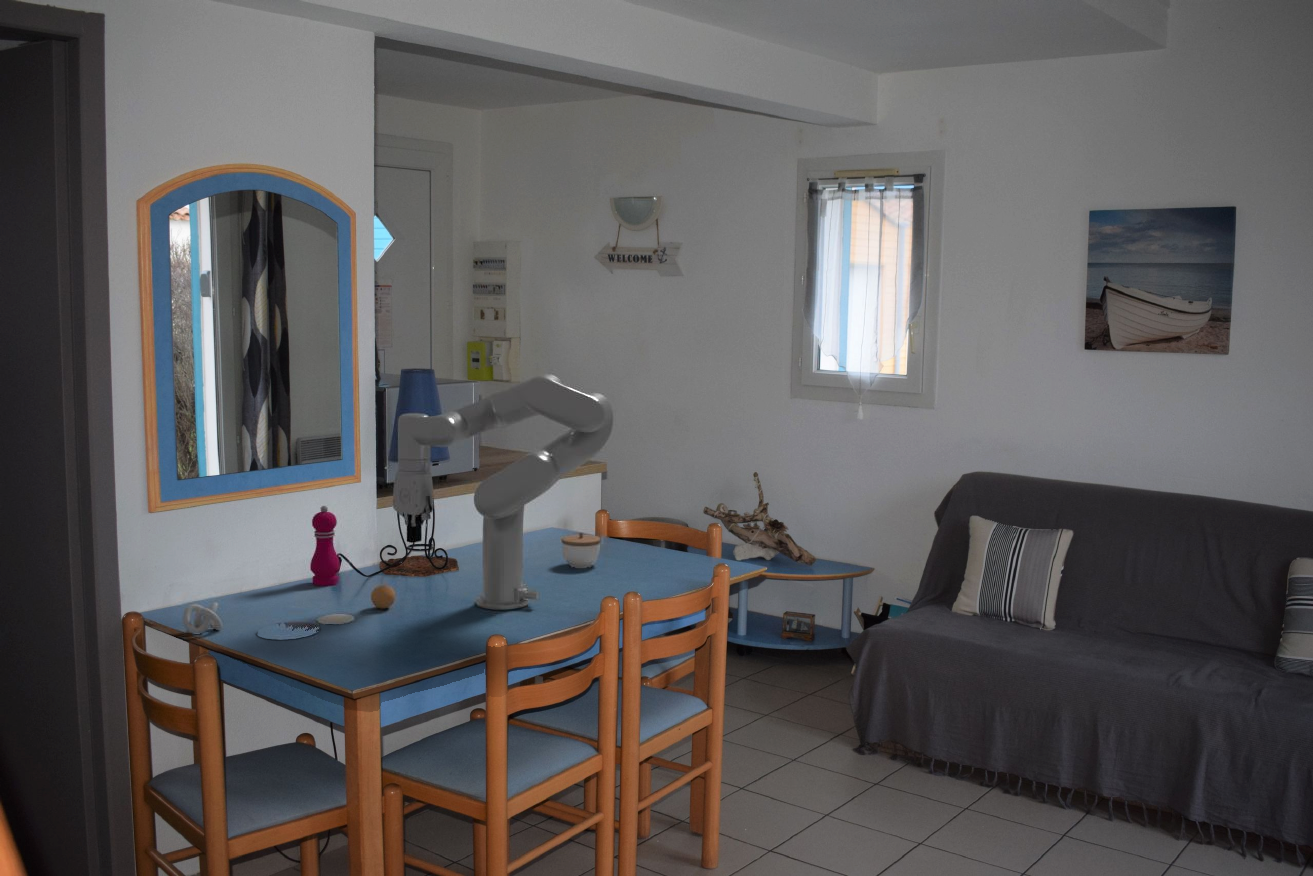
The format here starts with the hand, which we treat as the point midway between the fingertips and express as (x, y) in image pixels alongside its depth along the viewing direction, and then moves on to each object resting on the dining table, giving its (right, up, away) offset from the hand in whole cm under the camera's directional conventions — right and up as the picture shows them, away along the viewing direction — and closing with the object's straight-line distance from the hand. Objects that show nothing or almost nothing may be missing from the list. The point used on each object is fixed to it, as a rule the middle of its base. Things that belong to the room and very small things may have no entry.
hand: (414, 541), depth 260 cm
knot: (-39, -17, -25) cm, 50 cm away
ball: (-6, -12, -6) cm, 15 cm away
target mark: (-22, -17, -25) cm, 37 cm away
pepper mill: (-26, -12, +16) cm, 33 cm away
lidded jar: (+37, -11, +40) cm, 56 cm away
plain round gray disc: (-14, -16, -16) cm, 27 cm away
